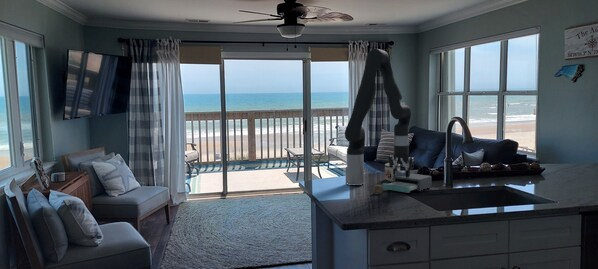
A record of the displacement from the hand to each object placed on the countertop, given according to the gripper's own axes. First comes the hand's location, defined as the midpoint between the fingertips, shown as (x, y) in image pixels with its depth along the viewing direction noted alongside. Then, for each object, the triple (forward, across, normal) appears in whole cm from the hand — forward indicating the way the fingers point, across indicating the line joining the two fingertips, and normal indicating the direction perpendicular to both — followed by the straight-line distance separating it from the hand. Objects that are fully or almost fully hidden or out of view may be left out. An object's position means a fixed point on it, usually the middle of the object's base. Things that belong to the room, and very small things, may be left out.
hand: (401, 176), depth 214 cm
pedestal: (+7, +5, +13) cm, 16 cm away
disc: (-1, 0, 0) cm, 1 cm away
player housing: (+7, 0, -11) cm, 13 cm away
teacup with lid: (+7, +17, -20) cm, 27 cm away
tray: (+6, 0, 0) cm, 6 cm away
